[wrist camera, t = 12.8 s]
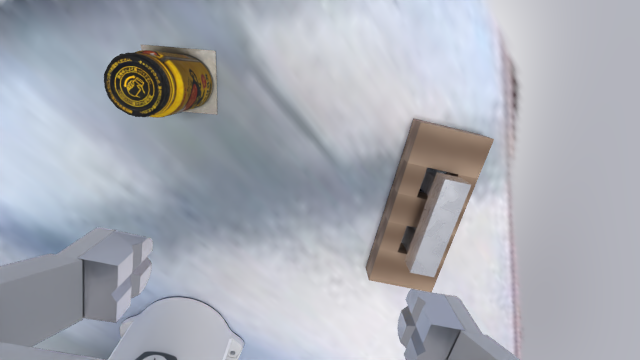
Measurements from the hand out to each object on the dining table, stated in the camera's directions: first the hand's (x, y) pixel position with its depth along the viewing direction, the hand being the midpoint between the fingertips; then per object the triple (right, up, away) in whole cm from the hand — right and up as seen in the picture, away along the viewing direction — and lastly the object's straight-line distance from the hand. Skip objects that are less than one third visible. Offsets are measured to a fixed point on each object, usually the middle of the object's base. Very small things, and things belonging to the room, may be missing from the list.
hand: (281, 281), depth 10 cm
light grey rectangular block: (+15, 0, +33) cm, 36 cm away
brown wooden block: (+15, 0, +33) cm, 36 cm away
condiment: (-15, +15, +28) cm, 35 cm away
